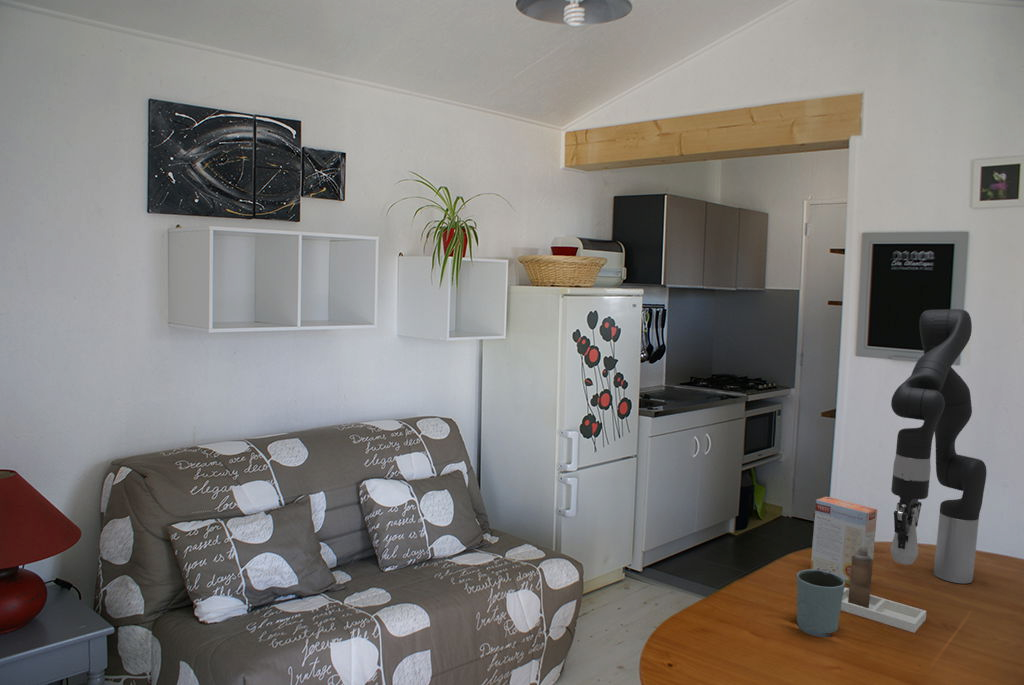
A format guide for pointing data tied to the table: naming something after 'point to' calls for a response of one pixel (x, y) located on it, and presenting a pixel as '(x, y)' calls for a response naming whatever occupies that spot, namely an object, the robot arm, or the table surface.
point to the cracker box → (841, 535)
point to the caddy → (886, 612)
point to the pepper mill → (860, 578)
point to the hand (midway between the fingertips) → (904, 548)
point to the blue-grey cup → (819, 601)
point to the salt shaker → (906, 546)
